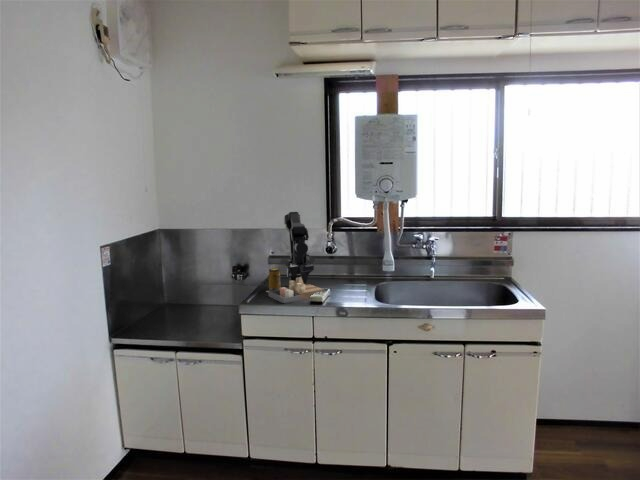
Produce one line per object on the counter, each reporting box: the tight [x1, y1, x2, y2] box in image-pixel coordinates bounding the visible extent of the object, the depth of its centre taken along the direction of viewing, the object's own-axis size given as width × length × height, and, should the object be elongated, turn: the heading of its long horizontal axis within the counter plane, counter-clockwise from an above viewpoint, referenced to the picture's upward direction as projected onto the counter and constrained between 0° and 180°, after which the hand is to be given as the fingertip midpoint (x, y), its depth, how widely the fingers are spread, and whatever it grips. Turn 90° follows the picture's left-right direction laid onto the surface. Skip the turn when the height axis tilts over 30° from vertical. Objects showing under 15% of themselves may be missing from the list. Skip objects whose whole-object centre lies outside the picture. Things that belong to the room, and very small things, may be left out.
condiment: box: [265, 267, 282, 294], centre depth 234 cm, size 7×8×12 cm
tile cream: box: [285, 289, 293, 298], centre depth 220 cm, size 4×4×2 cm
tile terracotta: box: [280, 286, 289, 297], centre depth 225 cm, size 4×4×2 cm
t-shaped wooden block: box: [288, 277, 306, 293], centre depth 226 cm, size 12×5×6 cm, turn 33°
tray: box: [268, 290, 302, 304], centre depth 222 cm, size 16×9×2 cm, turn 33°
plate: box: [287, 283, 325, 301], centre depth 228 cm, size 14×14×3 cm
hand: (299, 282), depth 226 cm, fingers open, 9 cm apart
